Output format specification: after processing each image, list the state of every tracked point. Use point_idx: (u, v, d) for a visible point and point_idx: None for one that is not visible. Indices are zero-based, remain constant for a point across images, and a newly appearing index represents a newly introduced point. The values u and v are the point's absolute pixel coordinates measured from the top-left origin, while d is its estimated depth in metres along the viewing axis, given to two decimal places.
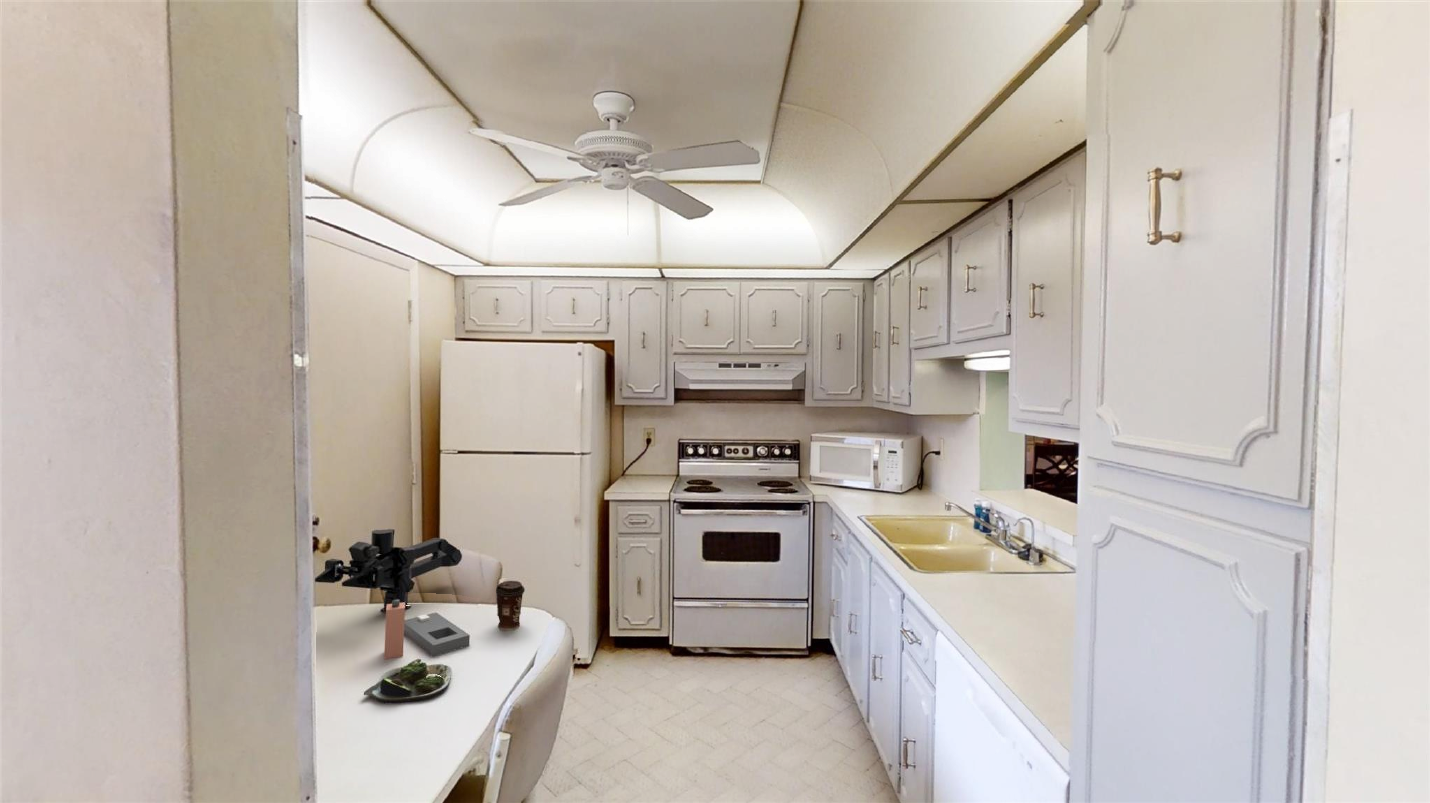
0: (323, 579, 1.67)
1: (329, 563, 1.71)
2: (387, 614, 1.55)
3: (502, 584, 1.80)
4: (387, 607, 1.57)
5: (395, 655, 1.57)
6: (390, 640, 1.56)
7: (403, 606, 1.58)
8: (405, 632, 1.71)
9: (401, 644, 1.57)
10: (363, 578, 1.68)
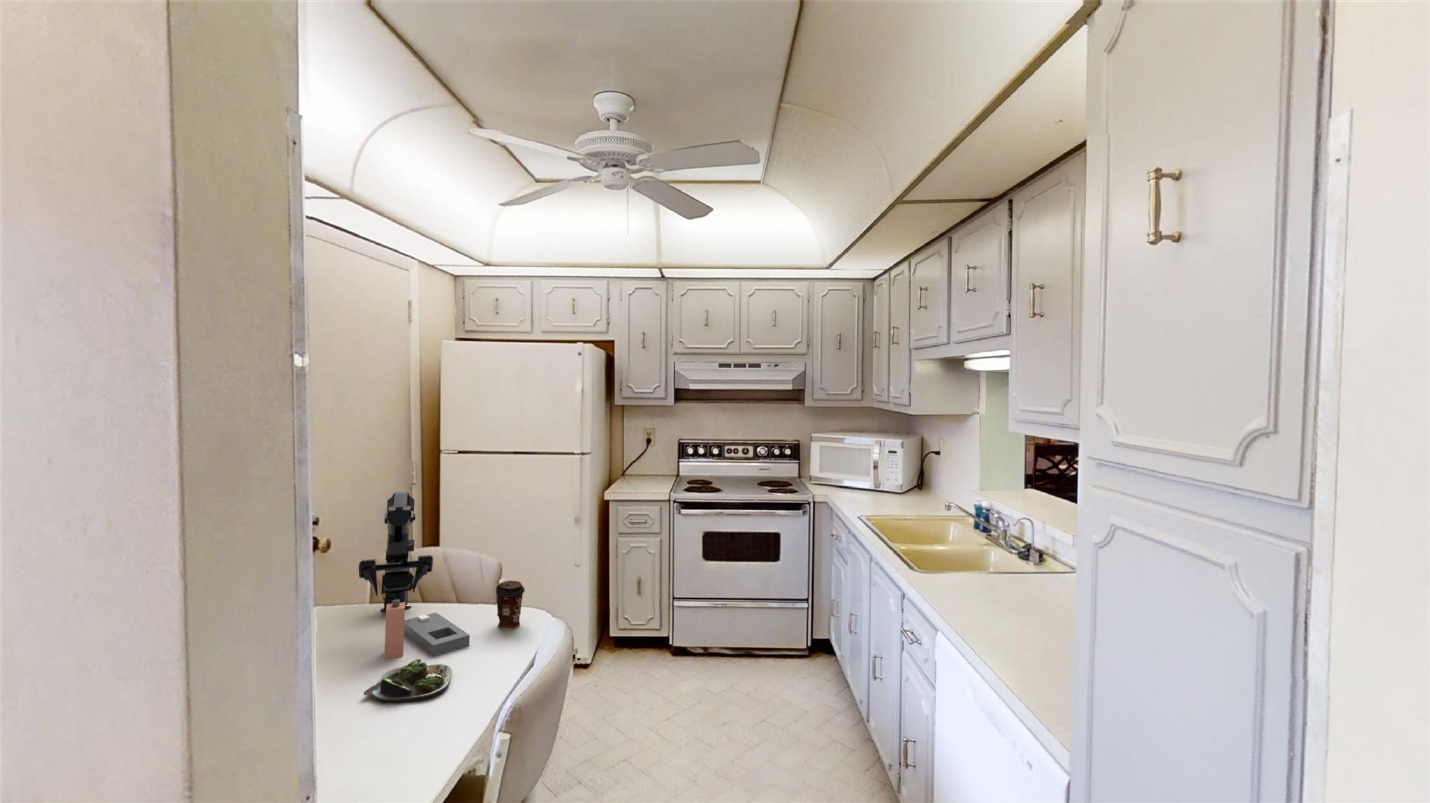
0: None
1: (368, 570, 1.64)
2: (387, 614, 1.55)
3: (502, 584, 1.80)
4: (387, 607, 1.57)
5: (395, 655, 1.57)
6: (390, 640, 1.56)
7: (403, 606, 1.58)
8: (405, 632, 1.71)
9: (401, 644, 1.57)
10: None
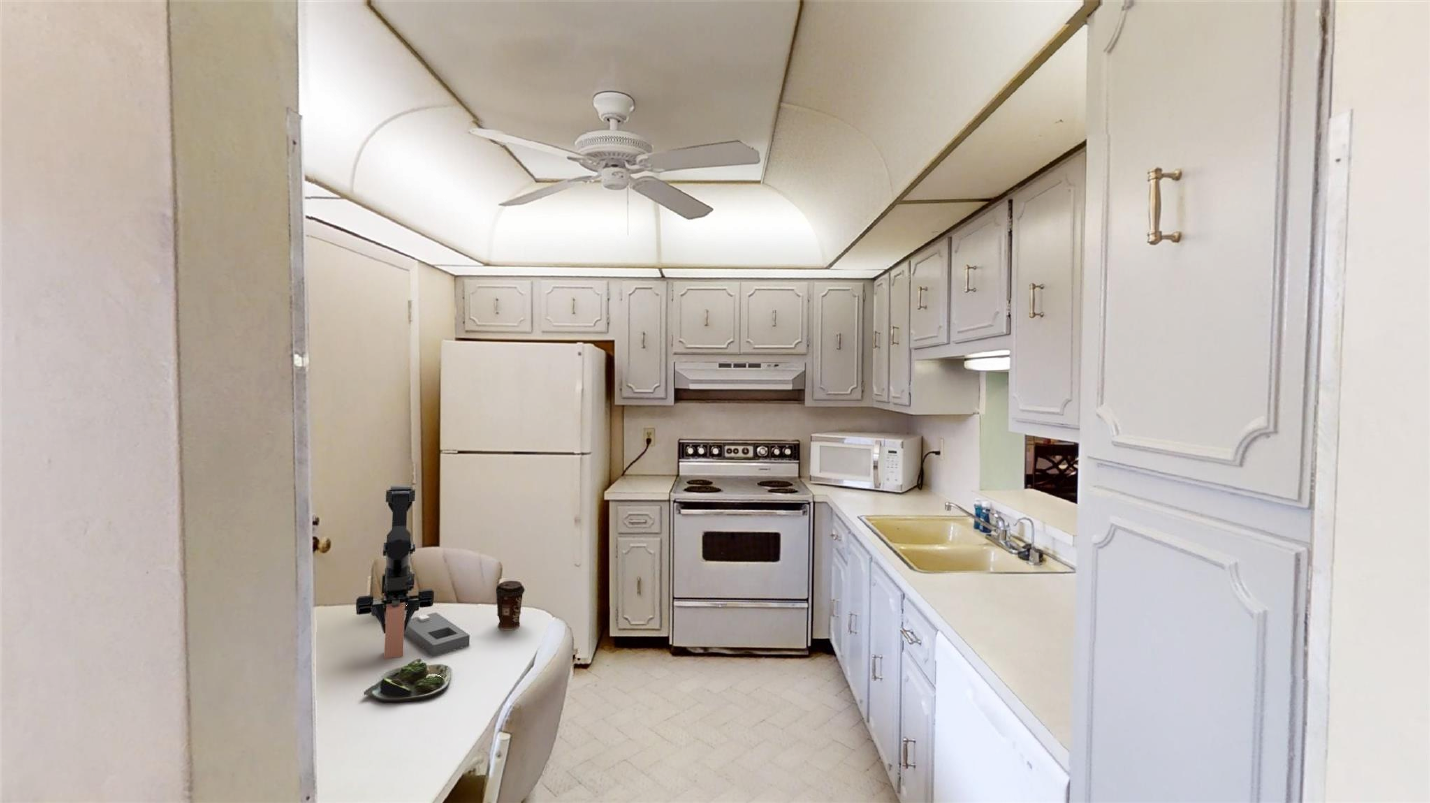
0: None
1: (375, 606, 1.57)
2: (387, 614, 1.55)
3: (502, 584, 1.80)
4: (387, 607, 1.57)
5: (395, 655, 1.57)
6: (390, 640, 1.56)
7: (403, 606, 1.58)
8: (405, 632, 1.71)
9: (401, 644, 1.57)
10: None
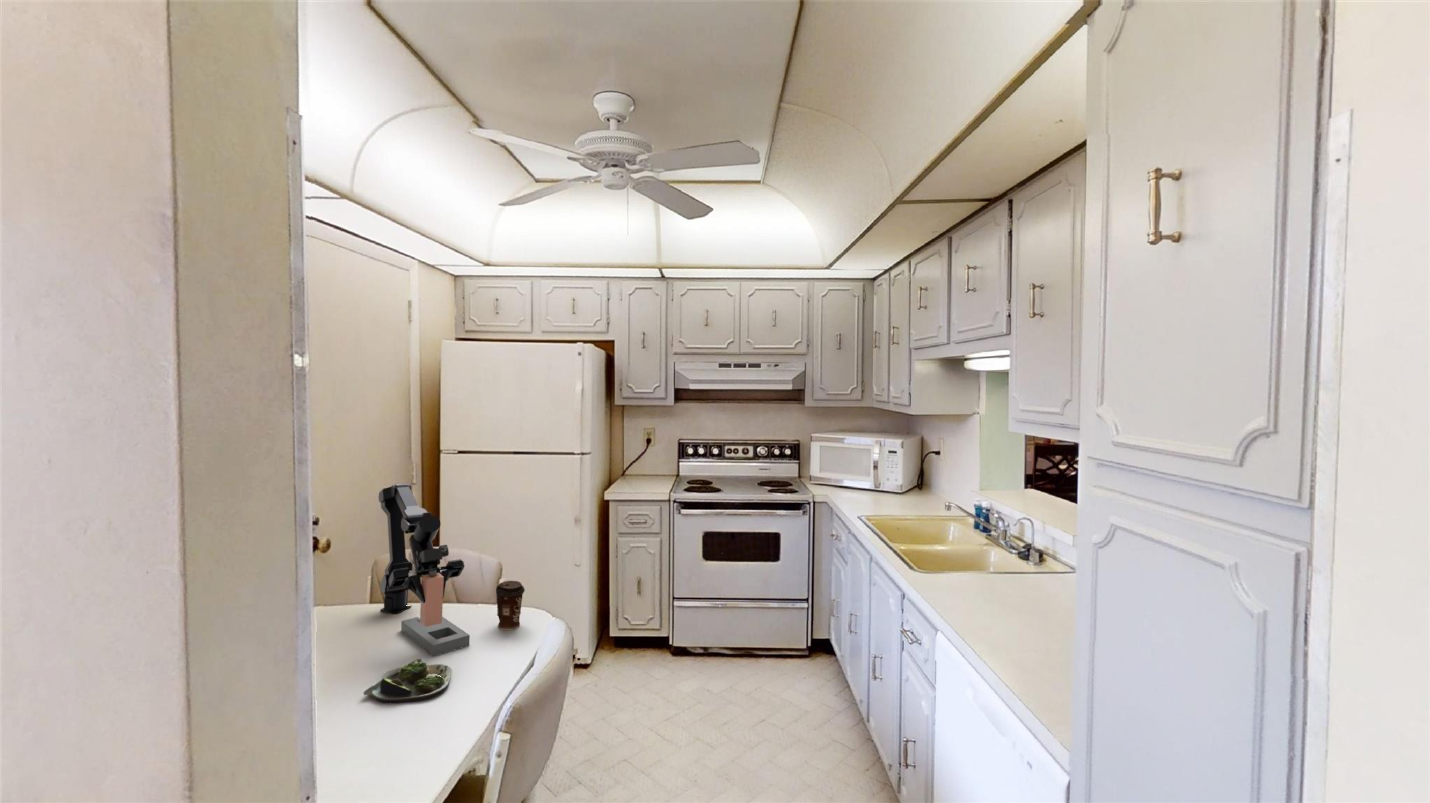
0: None
1: (413, 577, 1.61)
2: (428, 584, 1.60)
3: (502, 584, 1.80)
4: (425, 577, 1.62)
5: (435, 623, 1.62)
6: (430, 608, 1.61)
7: (440, 575, 1.64)
8: (405, 632, 1.71)
9: (440, 612, 1.63)
10: None
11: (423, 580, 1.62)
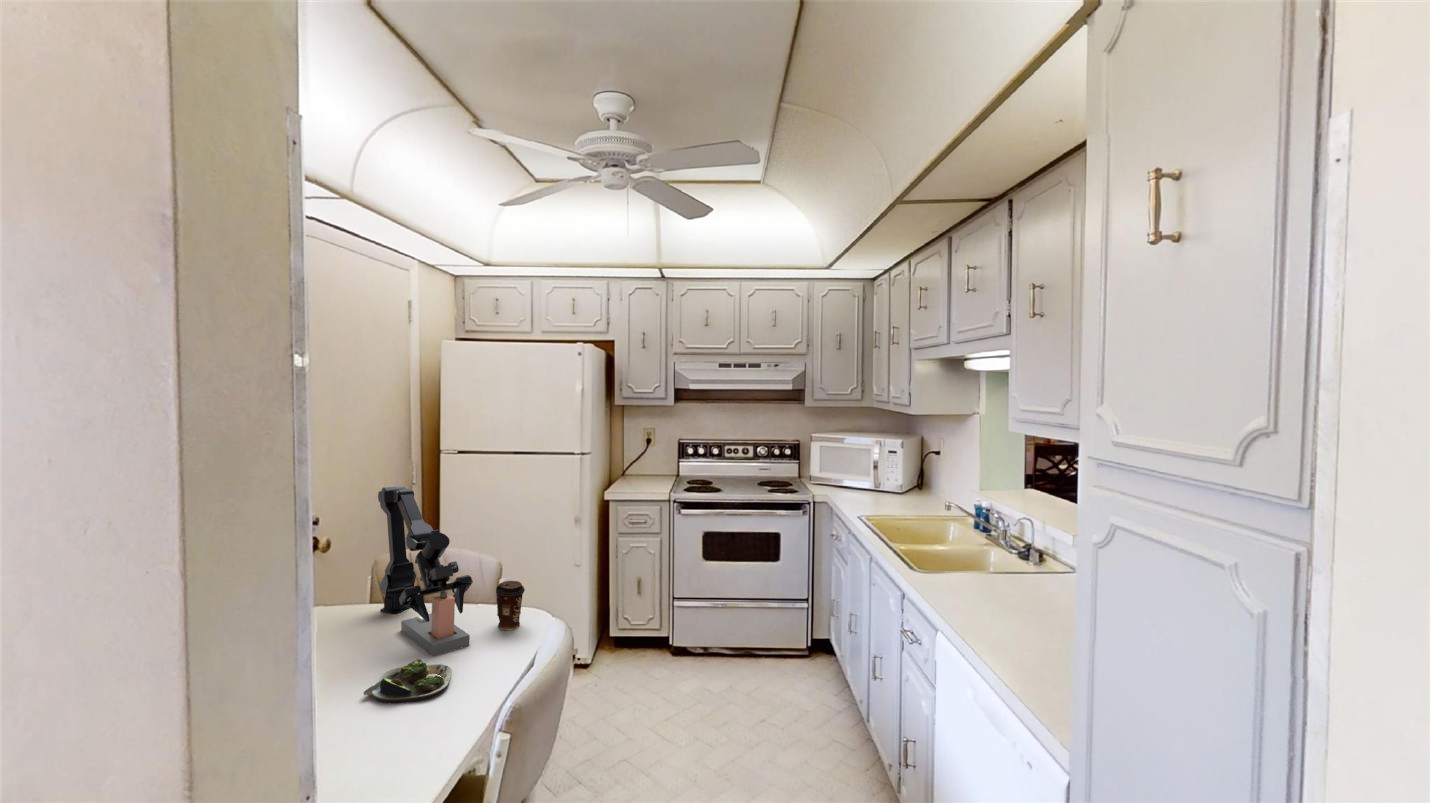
0: None
1: (416, 596, 1.61)
2: (440, 605, 1.63)
3: (502, 584, 1.80)
4: (437, 599, 1.64)
5: None
6: (443, 630, 1.64)
7: (451, 597, 1.66)
8: (405, 632, 1.71)
9: (452, 633, 1.66)
10: None
11: (434, 602, 1.64)
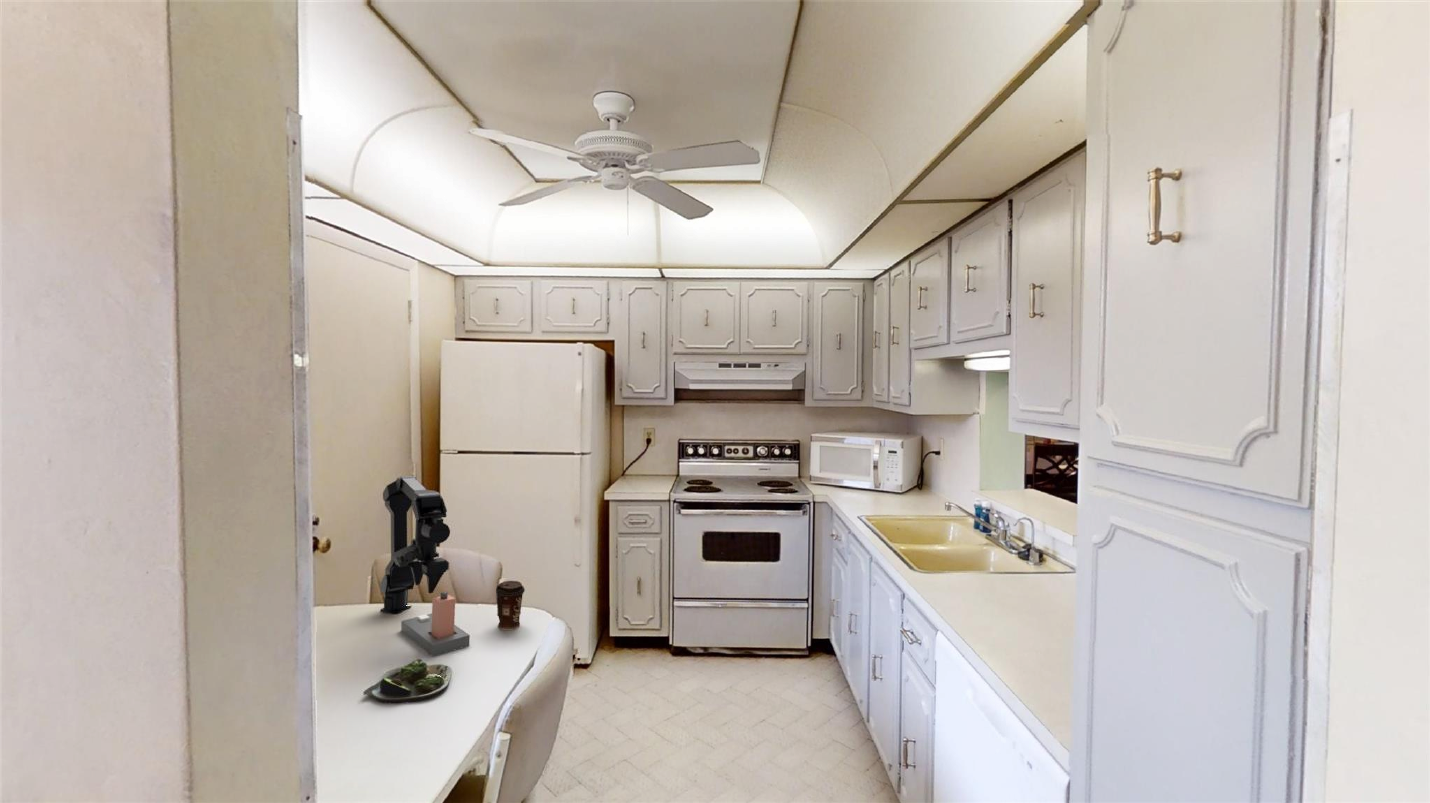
0: (420, 575, 1.75)
1: None
2: (440, 606, 1.63)
3: (502, 584, 1.80)
4: (437, 600, 1.64)
5: None
6: (443, 630, 1.64)
7: (452, 597, 1.66)
8: (405, 632, 1.71)
9: (452, 633, 1.66)
10: None
11: (434, 602, 1.64)
